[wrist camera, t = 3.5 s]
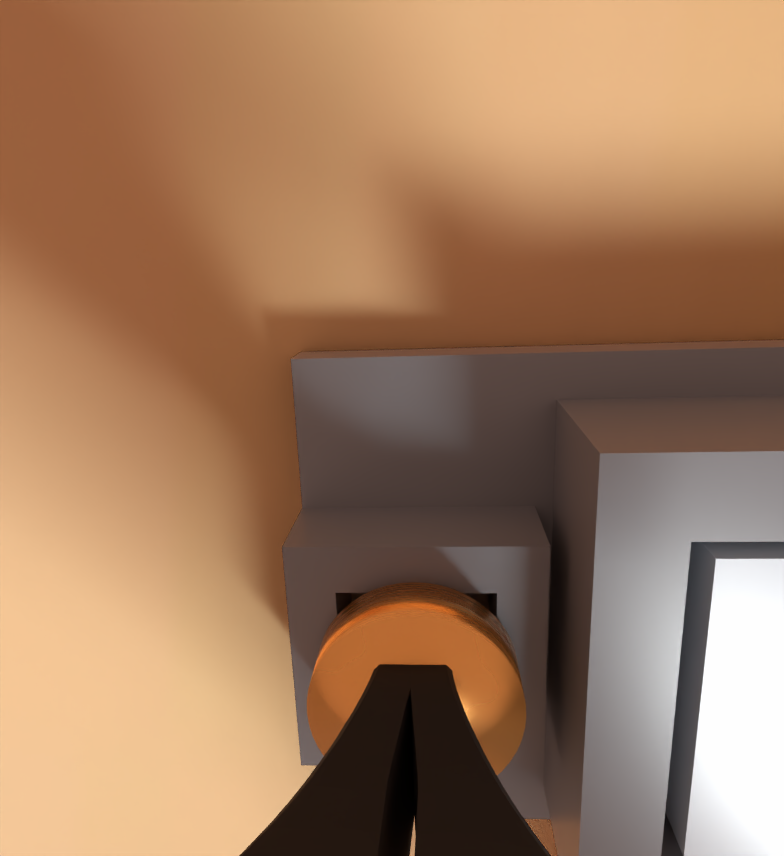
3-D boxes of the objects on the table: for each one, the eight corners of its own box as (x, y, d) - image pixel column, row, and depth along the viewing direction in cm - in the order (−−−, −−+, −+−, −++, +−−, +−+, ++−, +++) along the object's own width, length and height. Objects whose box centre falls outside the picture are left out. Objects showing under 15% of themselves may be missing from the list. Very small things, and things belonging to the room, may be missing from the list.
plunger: (506, 692, 15) (523, 805, 12) (338, 690, 15) (314, 799, 12) (508, 536, 14) (528, 617, 11) (328, 537, 14) (298, 615, 11)
